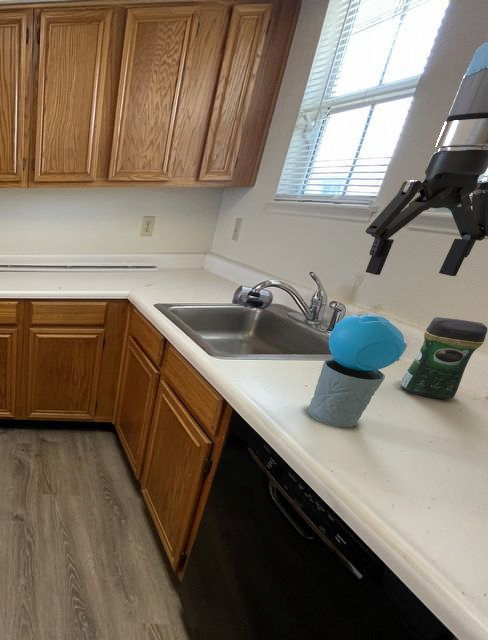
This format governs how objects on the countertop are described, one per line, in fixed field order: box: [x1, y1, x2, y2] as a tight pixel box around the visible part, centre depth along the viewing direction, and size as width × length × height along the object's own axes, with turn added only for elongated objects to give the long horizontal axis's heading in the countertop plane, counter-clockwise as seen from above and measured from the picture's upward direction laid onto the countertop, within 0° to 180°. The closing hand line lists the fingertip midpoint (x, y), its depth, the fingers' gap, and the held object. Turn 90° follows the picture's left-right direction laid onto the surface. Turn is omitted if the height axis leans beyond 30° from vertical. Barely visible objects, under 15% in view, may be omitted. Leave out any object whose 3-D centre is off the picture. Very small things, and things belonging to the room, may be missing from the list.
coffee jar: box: [400, 316, 488, 400], centre depth 99 cm, size 10×8×19 cm
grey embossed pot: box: [307, 358, 386, 428], centre depth 89 cm, size 10×10×12 cm
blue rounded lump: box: [328, 313, 408, 371], centre depth 84 cm, size 12×11×12 cm
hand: (409, 274), depth 81 cm, fingers open, 13 cm apart
